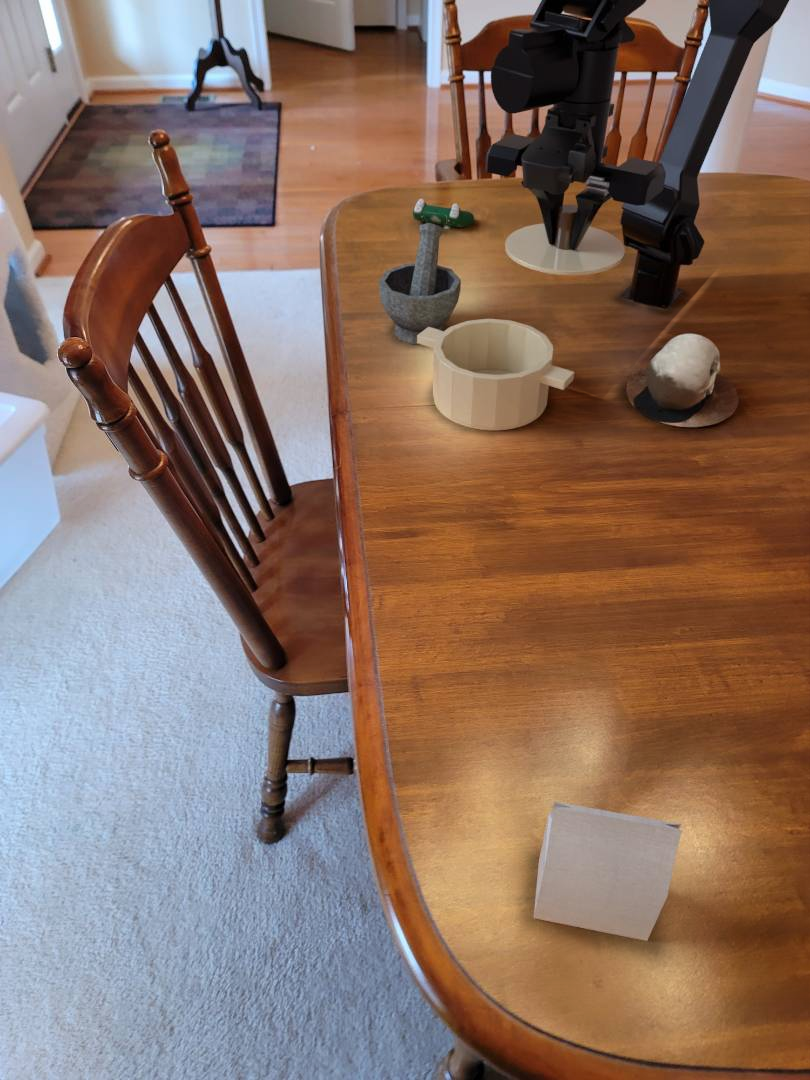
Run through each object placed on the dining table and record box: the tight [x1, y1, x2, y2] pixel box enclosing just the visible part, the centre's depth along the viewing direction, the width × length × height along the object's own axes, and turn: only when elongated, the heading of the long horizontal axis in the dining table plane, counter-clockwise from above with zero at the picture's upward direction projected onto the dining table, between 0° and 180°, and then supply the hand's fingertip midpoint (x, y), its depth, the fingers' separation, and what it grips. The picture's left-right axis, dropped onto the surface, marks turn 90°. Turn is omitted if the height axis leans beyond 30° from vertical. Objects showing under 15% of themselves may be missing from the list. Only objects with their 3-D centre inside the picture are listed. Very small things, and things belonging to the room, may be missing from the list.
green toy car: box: [412, 198, 475, 230], centre depth 128 cm, size 9×4×6 cm
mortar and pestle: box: [378, 223, 462, 345], centre depth 101 cm, size 11×9×12 cm
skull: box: [625, 333, 740, 428], centre depth 92 cm, size 12×10×10 cm
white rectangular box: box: [533, 801, 683, 942], centre depth 48 cm, size 4×7×10 cm, turn 78°
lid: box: [504, 204, 626, 276], centre depth 94 cm, size 14×14×5 cm
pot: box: [417, 318, 575, 431], centre depth 91 cm, size 13×18×6 cm
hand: (563, 246), depth 95 cm, fingers closed on lid, 2 cm apart
